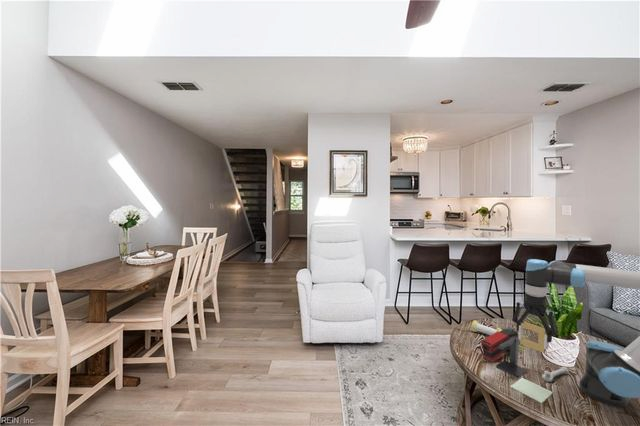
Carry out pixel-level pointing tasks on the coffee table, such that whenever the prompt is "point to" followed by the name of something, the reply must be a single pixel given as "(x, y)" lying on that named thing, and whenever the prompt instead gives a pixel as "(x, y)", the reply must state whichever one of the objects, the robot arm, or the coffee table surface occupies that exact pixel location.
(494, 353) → the toy gun
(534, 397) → the mat
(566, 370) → the grey bone
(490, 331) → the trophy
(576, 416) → the coffee table surface
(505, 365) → the stand
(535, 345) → the c link
